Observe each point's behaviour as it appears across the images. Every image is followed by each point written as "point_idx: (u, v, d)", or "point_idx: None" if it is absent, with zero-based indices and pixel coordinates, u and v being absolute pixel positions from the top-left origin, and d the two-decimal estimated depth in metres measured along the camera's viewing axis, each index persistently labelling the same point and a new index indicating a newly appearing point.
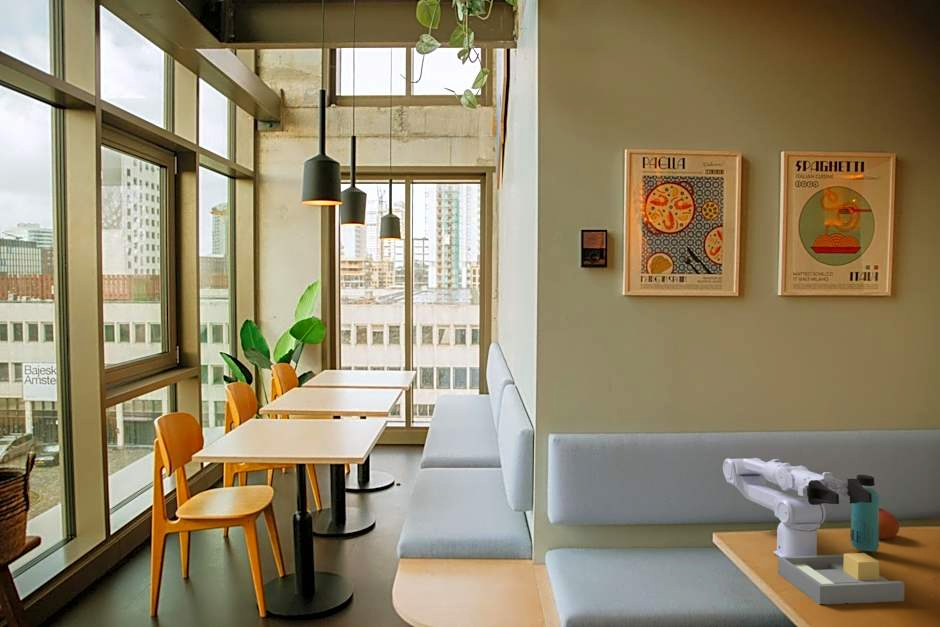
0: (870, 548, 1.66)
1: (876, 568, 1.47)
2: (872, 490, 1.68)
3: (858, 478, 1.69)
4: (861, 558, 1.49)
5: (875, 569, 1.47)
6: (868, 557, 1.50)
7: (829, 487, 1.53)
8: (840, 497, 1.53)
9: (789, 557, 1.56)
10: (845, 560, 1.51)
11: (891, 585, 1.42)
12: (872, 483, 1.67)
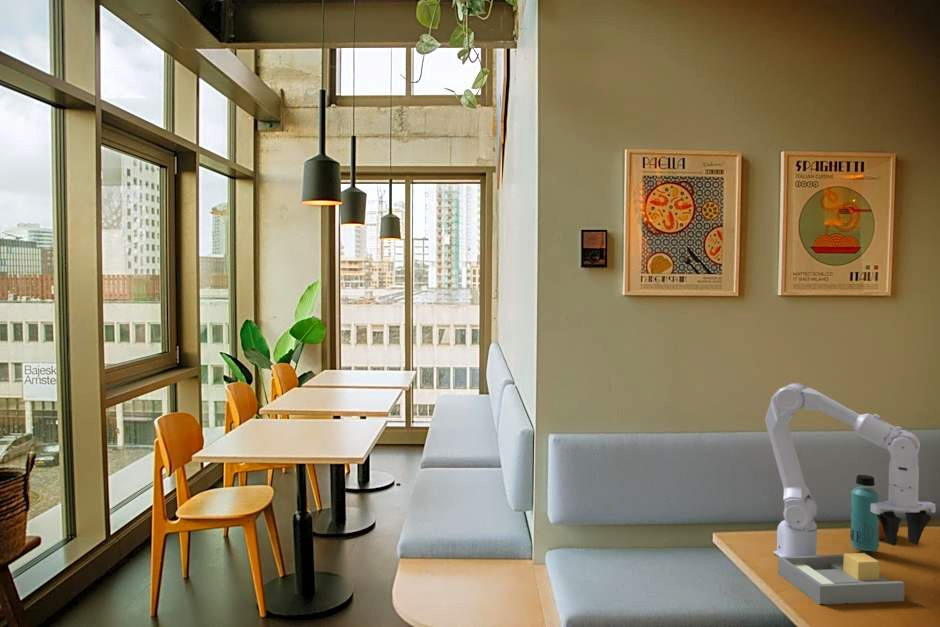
0: (870, 548, 1.66)
1: (876, 568, 1.47)
2: (872, 490, 1.68)
3: (858, 478, 1.69)
4: (861, 558, 1.49)
5: (875, 569, 1.47)
6: (868, 557, 1.50)
7: None
8: None
9: (789, 557, 1.56)
10: (845, 560, 1.51)
11: (891, 585, 1.42)
12: (872, 483, 1.67)
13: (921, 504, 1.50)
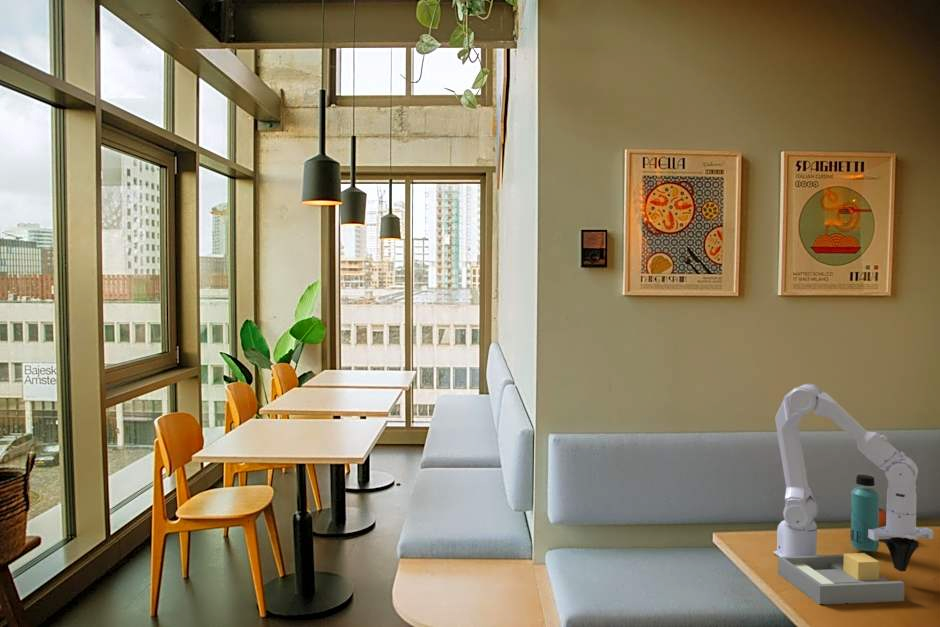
0: (870, 548, 1.66)
1: (876, 568, 1.47)
2: (872, 490, 1.68)
3: (858, 478, 1.69)
4: (861, 558, 1.49)
5: (875, 569, 1.47)
6: (868, 557, 1.50)
7: None
8: None
9: (789, 557, 1.56)
10: (845, 560, 1.51)
11: (891, 585, 1.42)
12: (872, 483, 1.67)
13: (919, 530, 1.50)
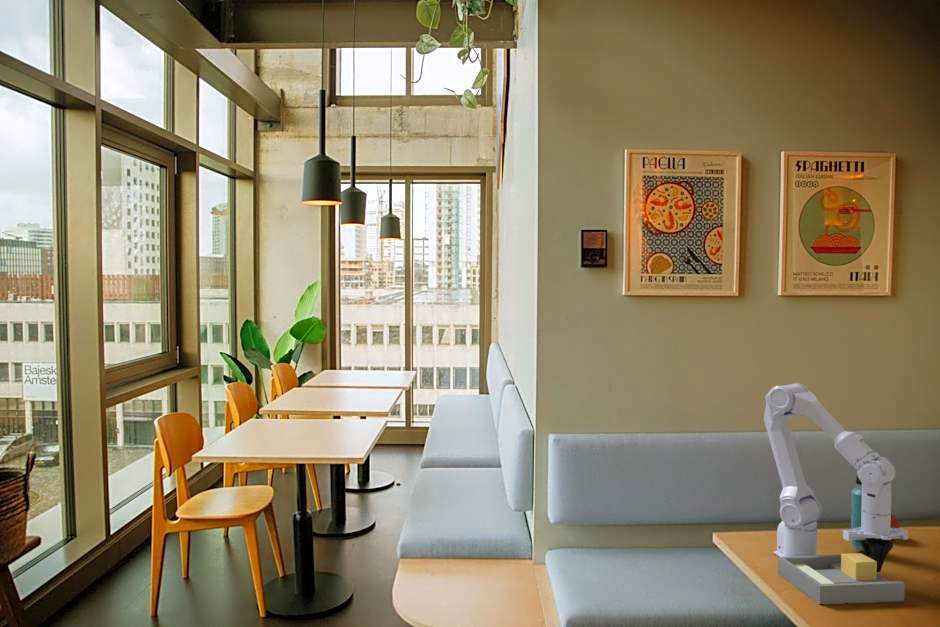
0: None
1: (874, 568, 1.47)
2: None
3: (858, 478, 1.69)
4: (858, 558, 1.49)
5: (873, 569, 1.47)
6: (865, 557, 1.50)
7: None
8: None
9: (789, 557, 1.56)
10: (843, 560, 1.51)
11: (891, 585, 1.42)
12: None
13: (894, 531, 1.50)
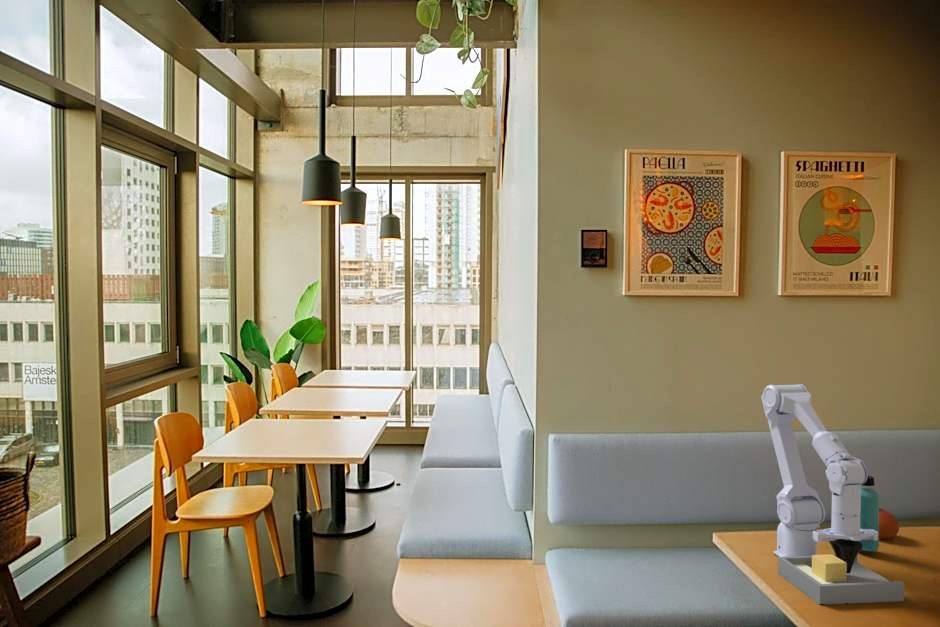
0: (870, 548, 1.66)
1: (843, 569, 1.46)
2: (872, 490, 1.68)
3: None
4: (828, 559, 1.48)
5: (842, 570, 1.46)
6: (836, 558, 1.49)
7: None
8: None
9: (789, 557, 1.56)
10: (813, 561, 1.50)
11: (891, 585, 1.42)
12: (872, 483, 1.67)
13: (864, 532, 1.49)
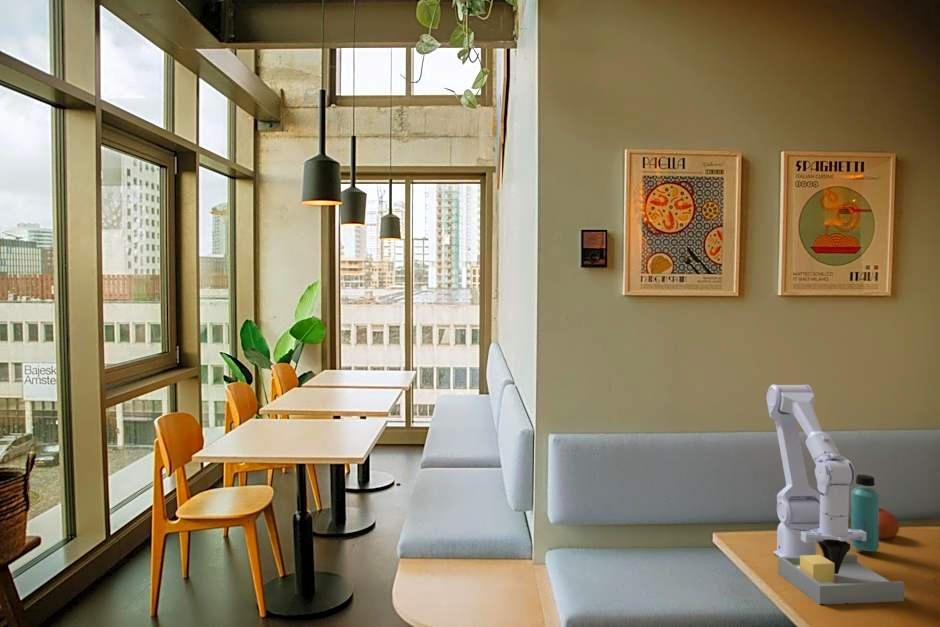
0: (870, 548, 1.66)
1: (831, 570, 1.46)
2: (872, 490, 1.68)
3: (858, 478, 1.69)
4: (816, 560, 1.48)
5: (830, 571, 1.46)
6: (824, 559, 1.48)
7: None
8: None
9: (789, 557, 1.56)
10: (801, 562, 1.50)
11: (891, 585, 1.42)
12: (872, 483, 1.67)
13: (852, 532, 1.49)
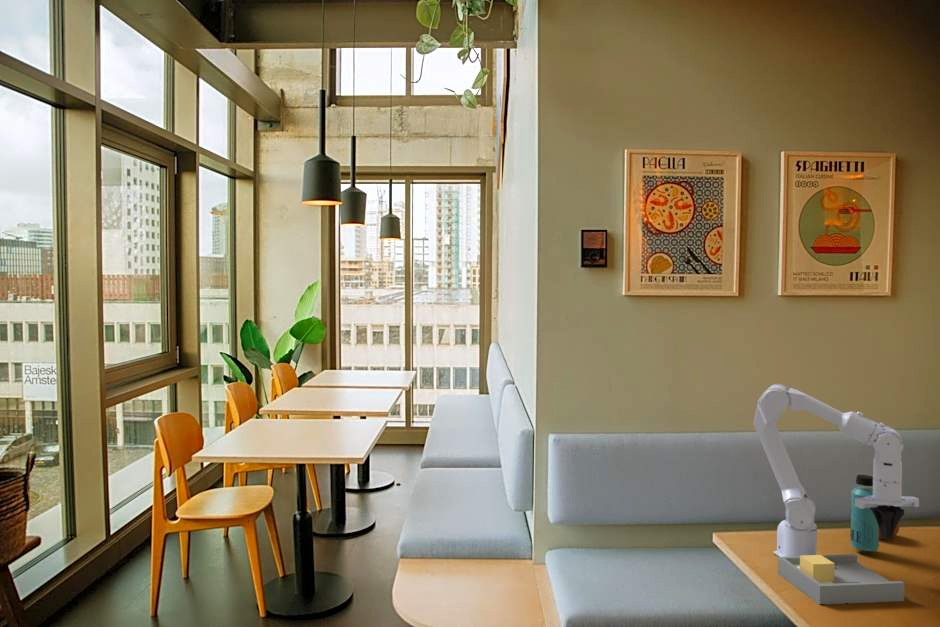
0: (870, 548, 1.66)
1: (831, 570, 1.46)
2: (872, 490, 1.68)
3: (858, 478, 1.69)
4: (816, 560, 1.48)
5: (830, 571, 1.46)
6: (824, 559, 1.48)
7: None
8: None
9: (789, 557, 1.56)
10: (801, 562, 1.50)
11: (891, 585, 1.42)
12: (872, 483, 1.67)
13: (905, 499, 1.54)
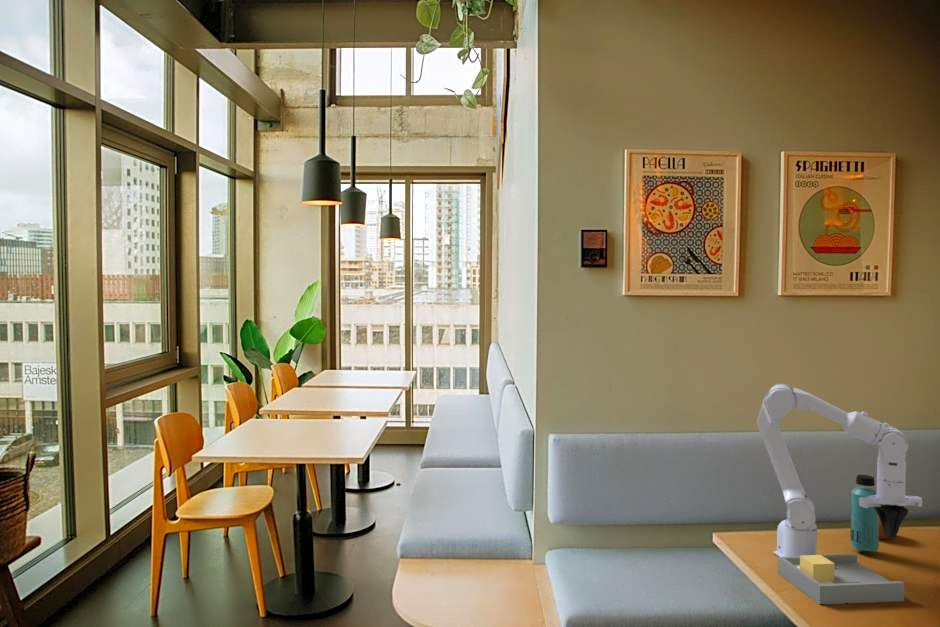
0: (870, 548, 1.66)
1: (831, 570, 1.46)
2: (872, 490, 1.68)
3: (858, 478, 1.69)
4: (816, 560, 1.48)
5: (830, 571, 1.46)
6: (824, 559, 1.48)
7: None
8: None
9: (789, 557, 1.56)
10: (801, 562, 1.50)
11: (891, 585, 1.42)
12: (872, 483, 1.67)
13: (908, 498, 1.55)
